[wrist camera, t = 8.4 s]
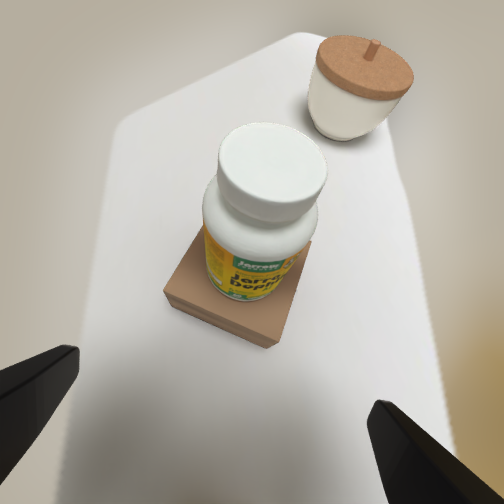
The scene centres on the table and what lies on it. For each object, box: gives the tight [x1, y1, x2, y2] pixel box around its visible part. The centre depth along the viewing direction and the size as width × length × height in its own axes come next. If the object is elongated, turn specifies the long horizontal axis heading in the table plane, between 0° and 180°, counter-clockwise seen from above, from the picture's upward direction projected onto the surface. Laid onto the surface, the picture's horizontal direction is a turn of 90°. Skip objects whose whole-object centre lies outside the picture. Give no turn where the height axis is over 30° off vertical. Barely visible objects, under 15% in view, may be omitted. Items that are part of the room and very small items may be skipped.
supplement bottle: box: [202, 122, 328, 301], centre depth 13 cm, size 5×5×10 cm
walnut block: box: [163, 226, 312, 349], centre depth 19 cm, size 8×8×4 cm
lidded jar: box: [308, 36, 414, 141], centre depth 29 cm, size 11×11×9 cm
